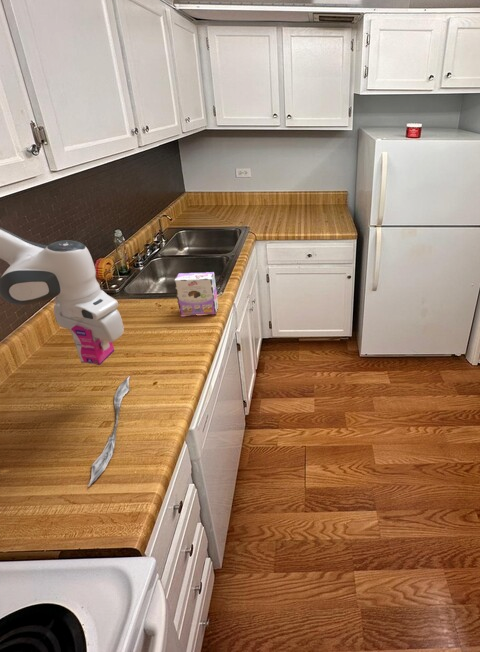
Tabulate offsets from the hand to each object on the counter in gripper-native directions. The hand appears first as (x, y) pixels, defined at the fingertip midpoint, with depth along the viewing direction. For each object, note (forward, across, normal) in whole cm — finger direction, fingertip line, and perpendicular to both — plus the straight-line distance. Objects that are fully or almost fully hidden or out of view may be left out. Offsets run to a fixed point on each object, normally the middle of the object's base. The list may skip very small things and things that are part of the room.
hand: (94, 344), depth 89 cm
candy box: (+17, 0, +41) cm, 44 cm away
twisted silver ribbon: (+17, +10, -7) cm, 21 cm away
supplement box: (+4, 0, 0) cm, 4 cm away
